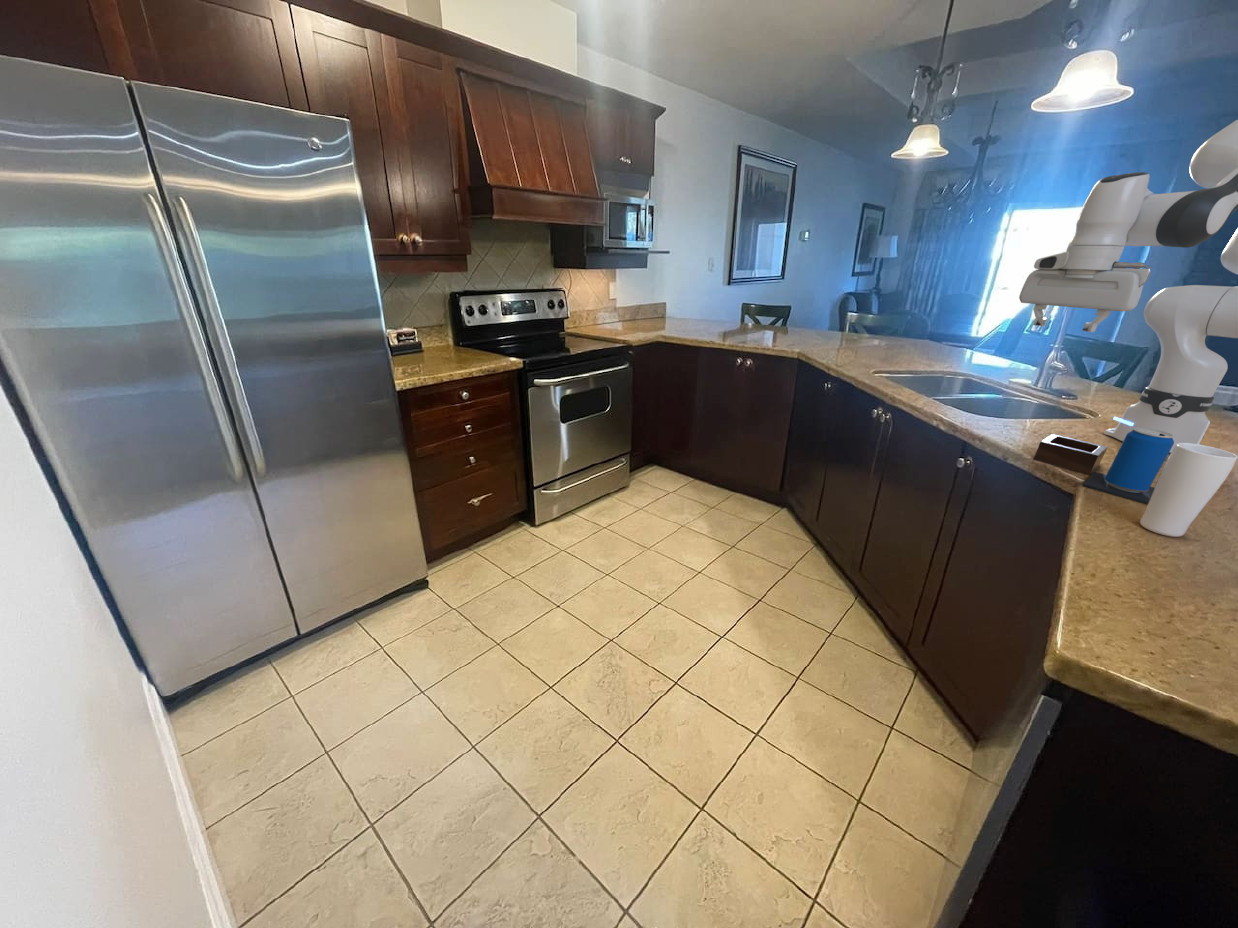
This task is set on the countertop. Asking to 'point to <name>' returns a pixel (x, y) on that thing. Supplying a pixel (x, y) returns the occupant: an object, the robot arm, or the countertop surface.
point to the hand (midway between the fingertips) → (1062, 328)
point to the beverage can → (1139, 459)
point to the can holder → (1070, 453)
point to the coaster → (1101, 484)
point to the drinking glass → (1186, 487)
